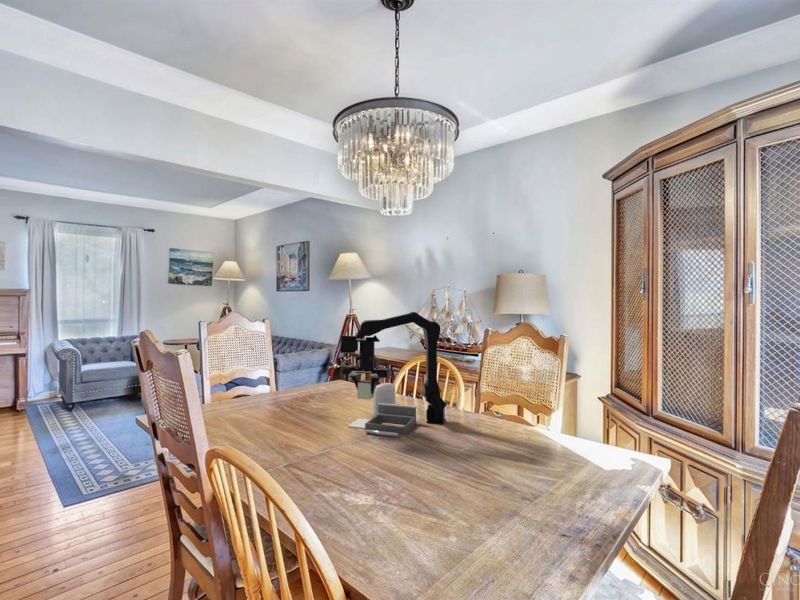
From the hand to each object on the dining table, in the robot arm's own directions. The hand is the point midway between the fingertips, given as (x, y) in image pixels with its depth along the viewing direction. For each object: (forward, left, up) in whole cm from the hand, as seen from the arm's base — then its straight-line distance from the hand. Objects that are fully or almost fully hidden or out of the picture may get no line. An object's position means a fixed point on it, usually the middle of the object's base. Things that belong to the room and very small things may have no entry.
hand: (366, 393), depth 158 cm
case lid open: (-10, -8, -12) cm, 17 cm away
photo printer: (-1, -18, -12) cm, 22 cm away
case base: (-10, 0, -12) cm, 16 cm away
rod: (-10, +9, -12) cm, 18 cm away
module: (0, 0, -2) cm, 2 cm away
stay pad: (+2, 0, -12) cm, 12 cm away
